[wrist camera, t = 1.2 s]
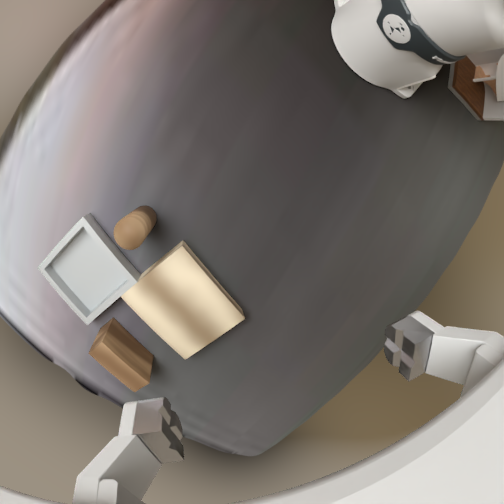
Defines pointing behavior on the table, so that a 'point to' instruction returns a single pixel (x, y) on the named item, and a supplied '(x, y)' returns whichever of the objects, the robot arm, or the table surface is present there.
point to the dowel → (135, 227)
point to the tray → (88, 269)
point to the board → (183, 302)
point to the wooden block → (122, 355)
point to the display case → (480, 84)
